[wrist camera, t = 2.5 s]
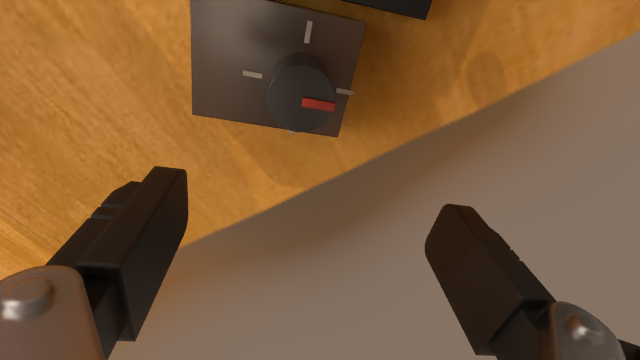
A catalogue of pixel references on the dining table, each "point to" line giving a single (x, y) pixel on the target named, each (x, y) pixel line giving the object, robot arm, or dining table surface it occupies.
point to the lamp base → (399, 6)
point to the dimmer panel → (265, 56)
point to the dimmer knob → (300, 93)
